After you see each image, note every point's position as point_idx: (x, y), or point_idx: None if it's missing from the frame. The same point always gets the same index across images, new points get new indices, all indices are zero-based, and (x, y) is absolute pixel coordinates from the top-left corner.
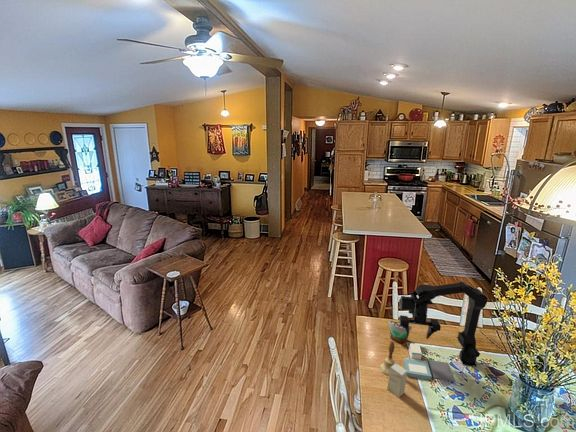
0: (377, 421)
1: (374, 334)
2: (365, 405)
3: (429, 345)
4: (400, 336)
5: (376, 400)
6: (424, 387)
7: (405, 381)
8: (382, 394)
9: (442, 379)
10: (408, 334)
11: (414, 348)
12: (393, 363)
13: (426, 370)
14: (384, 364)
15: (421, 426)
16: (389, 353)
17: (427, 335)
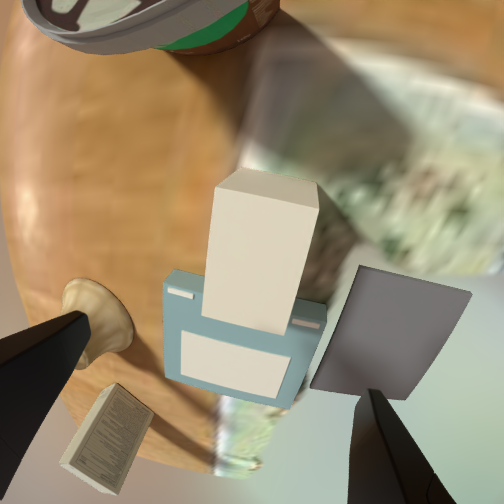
0: None
1: None
2: (66, 405)
3: (455, 92)
4: (161, 47)
5: (84, 405)
6: (240, 413)
7: (133, 457)
8: (93, 398)
9: (353, 392)
10: (64, 379)
11: (237, 272)
12: (85, 368)
13: (279, 382)
14: None
15: (190, 469)
16: None
17: (359, 463)
